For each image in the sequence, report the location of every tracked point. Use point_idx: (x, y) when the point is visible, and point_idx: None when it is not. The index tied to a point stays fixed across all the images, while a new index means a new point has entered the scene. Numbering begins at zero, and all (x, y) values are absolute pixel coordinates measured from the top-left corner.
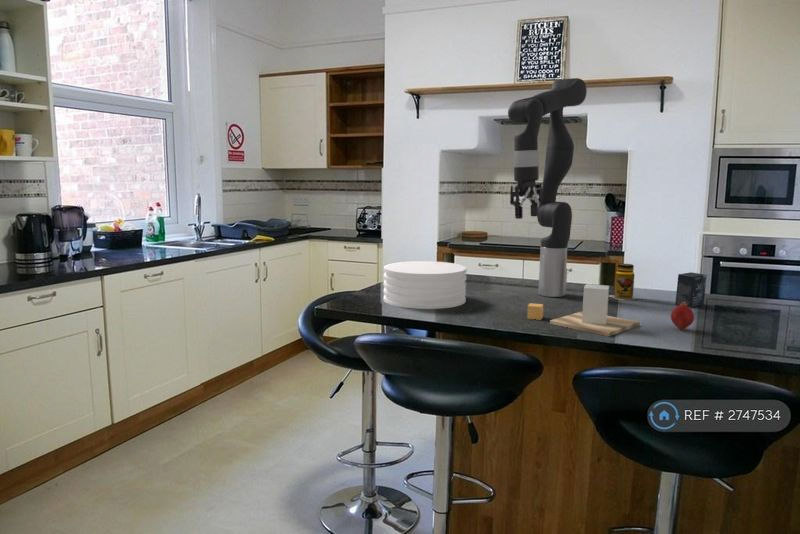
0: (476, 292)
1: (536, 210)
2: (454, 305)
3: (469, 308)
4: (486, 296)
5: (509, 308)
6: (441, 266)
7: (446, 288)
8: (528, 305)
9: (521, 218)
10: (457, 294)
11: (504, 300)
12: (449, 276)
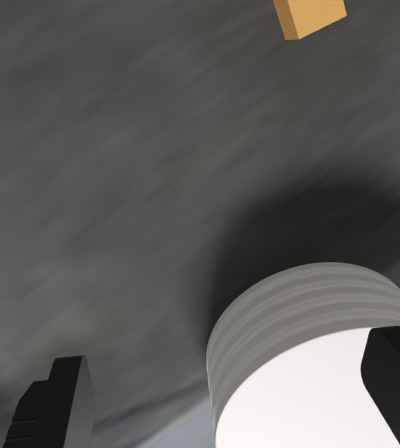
0: (131, 340)
1: (68, 414)
2: (331, 263)
3: (321, 225)
4: (152, 293)
5: (239, 151)
6: (300, 416)
7: (377, 301)
8: (339, 17)
9: (375, 329)
10: (322, 285)
11: (154, 230)
12: (395, 320)
